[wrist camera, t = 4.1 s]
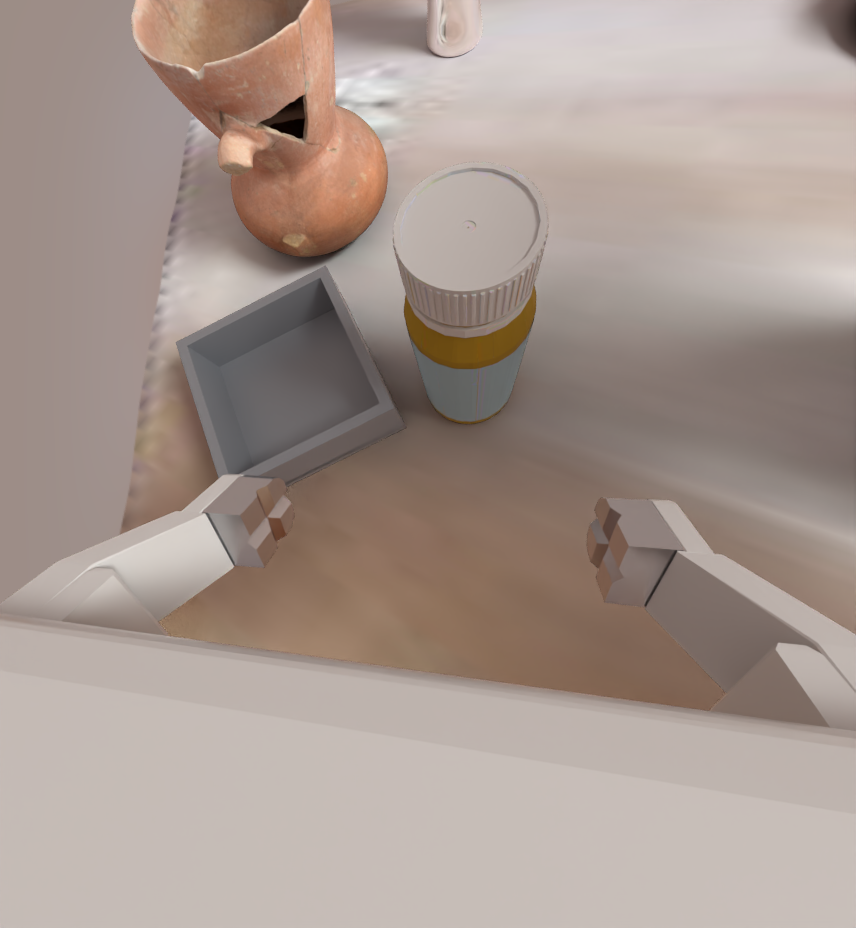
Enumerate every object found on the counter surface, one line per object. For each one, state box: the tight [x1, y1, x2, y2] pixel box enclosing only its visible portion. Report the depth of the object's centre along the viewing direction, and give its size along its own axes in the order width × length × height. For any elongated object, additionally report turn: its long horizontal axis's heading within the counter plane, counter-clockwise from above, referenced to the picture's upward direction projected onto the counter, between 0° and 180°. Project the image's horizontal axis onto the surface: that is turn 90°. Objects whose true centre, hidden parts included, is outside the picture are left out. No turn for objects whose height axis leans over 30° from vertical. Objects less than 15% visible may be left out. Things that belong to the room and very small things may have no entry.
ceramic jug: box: [131, 0, 388, 257], centre depth 26 cm, size 18×14×14 cm
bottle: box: [393, 162, 548, 424], centre depth 20 cm, size 7×7×15 cm
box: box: [176, 266, 406, 487], centre depth 27 cm, size 14×14×4 cm
